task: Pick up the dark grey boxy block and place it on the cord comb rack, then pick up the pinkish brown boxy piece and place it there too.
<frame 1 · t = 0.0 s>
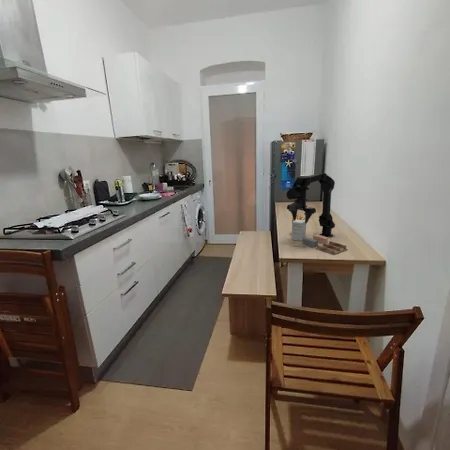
hand: (300, 221, 163), 15 cm above the table, fingers open, 9 cm apart
pinkish brown boxy piece: (320, 242, 169), on the table
supplement box: (298, 239, 177), on the table
french fries: (297, 234, 186), on the table
cord comb rack: (331, 249, 156), on the table
dark grey boxy block: (310, 245, 164), on the table
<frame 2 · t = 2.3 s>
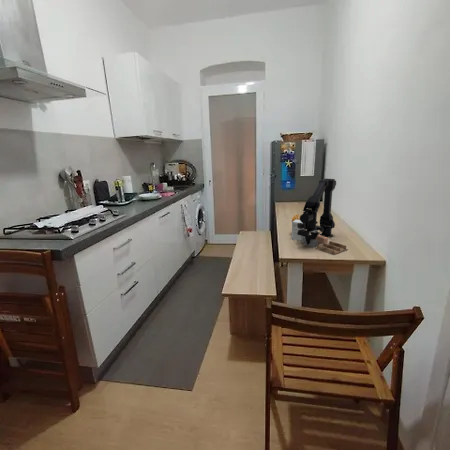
hand: (310, 243, 164), 1 cm above the table, fingers closed on dark grey boxy block, 3 cm apart
dark grey boxy block: (310, 245, 164), on the table, touching gripper
everything else where it was.
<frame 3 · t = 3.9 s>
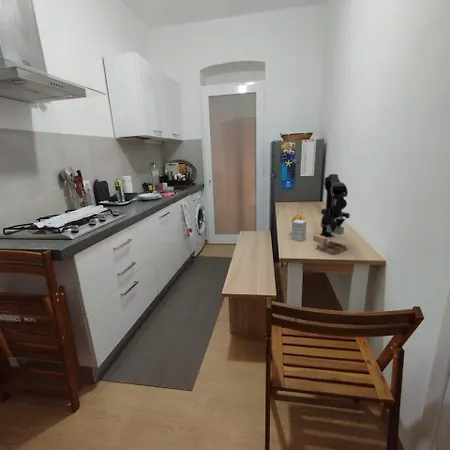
hand: (334, 230, 155), 11 cm above the table, fingers closed on dark grey boxy block, 3 cm apart
dark grey boxy block: (334, 232, 155), point 10 cm above the table, touching gripper
everything else where it was.
when the fingers open (3 cm above the table, at t = 5.6 s): dark grey boxy block drops 2 cm, resting on cord comb rack.
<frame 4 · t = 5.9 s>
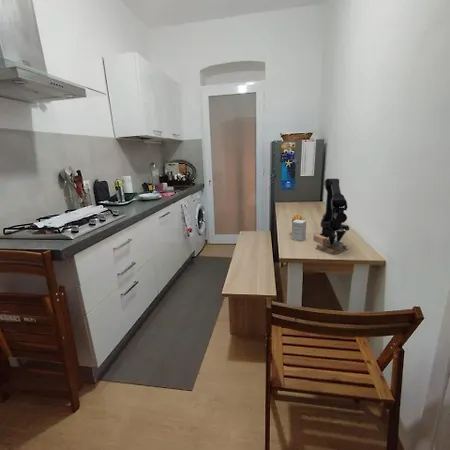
hand: (334, 243, 157), 3 cm above the table, fingers open, 6 cm apart
dark grey boxy block: (334, 247, 157), resting on cord comb rack
everything else where it was.
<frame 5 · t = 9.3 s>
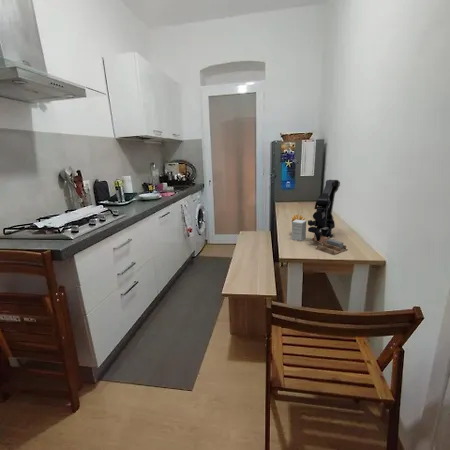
hand: (320, 240, 169), 1 cm above the table, fingers closed on pinkish brown boxy piece, 4 cm apart
pinkish brown boxy piece: (320, 241, 169), on the table, touching gripper
everything else where it was.
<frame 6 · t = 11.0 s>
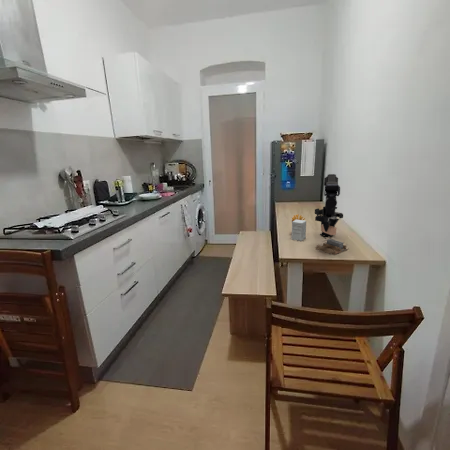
hand: (328, 231, 153), 12 cm above the table, fingers closed on pinkish brown boxy piece, 4 cm apart
pinkish brown boxy piece: (328, 232, 153), point 11 cm above the table, touching gripper
everything else where it was.
when the fingers open (3 cm above the table, at t = 12.9 s): pinkish brown boxy piece stays where it is, resting on cord comb rack.
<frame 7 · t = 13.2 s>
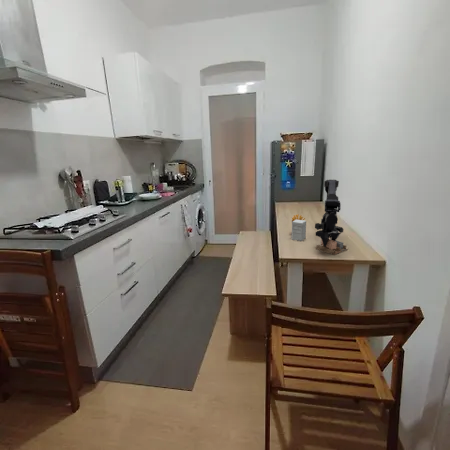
hand: (328, 245, 153), 3 cm above the table, fingers open, 7 cm apart
pinkish brown boxy piece: (328, 246, 154), point 2 cm above the table, touching cord comb rack
dark grey boxy block: (334, 247, 157), point 1 cm above the table, touching cord comb rack, gripper
everything else where it was.
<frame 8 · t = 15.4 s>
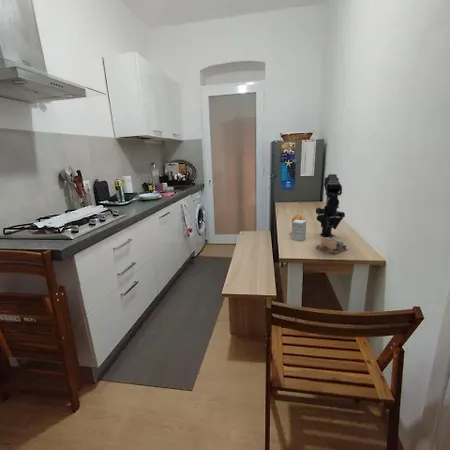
hand: (329, 230, 151), 12 cm above the table, fingers open, 9 cm apart
dark grey boxy block: (334, 247, 157), resting on cord comb rack
everything else where it was.
at the end: dark grey boxy block inside the target area (0.0 cm from its centre), point 0.5 cm above the table; pinkish brown boxy piece inside the target area (0.1 cm from its centre), point 2.5 cm above the table; the gripper is holding nothing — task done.
